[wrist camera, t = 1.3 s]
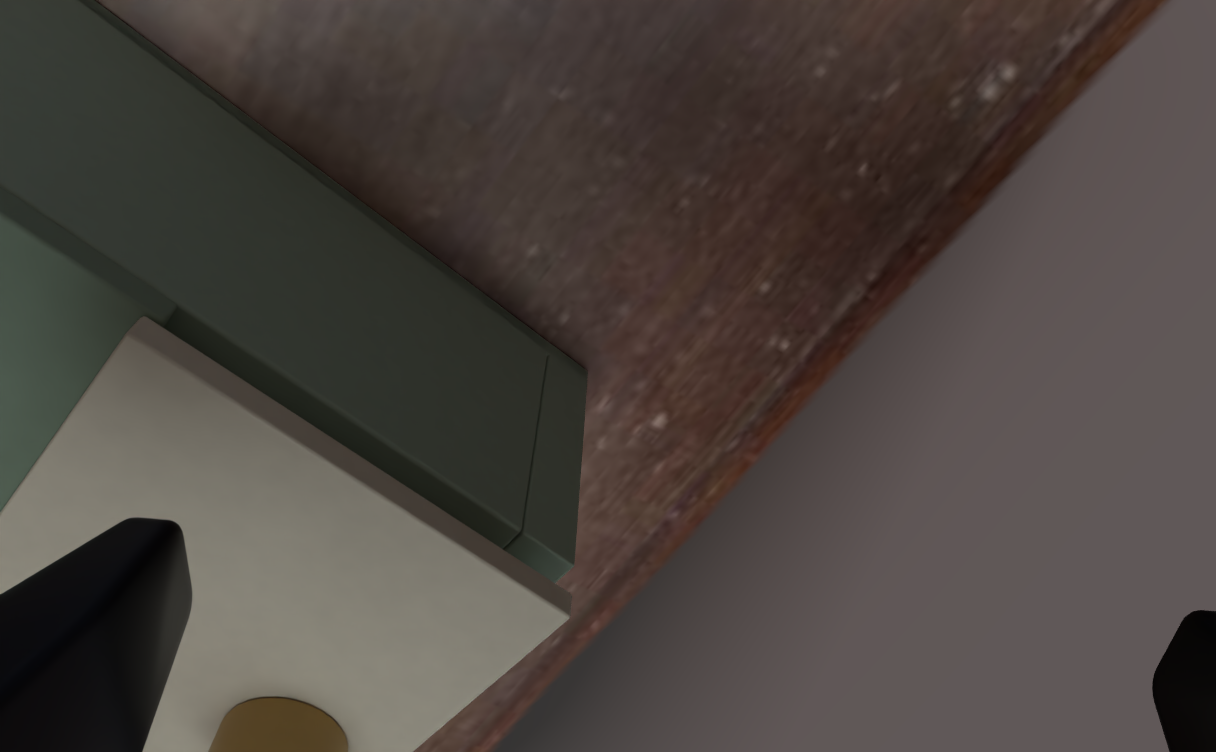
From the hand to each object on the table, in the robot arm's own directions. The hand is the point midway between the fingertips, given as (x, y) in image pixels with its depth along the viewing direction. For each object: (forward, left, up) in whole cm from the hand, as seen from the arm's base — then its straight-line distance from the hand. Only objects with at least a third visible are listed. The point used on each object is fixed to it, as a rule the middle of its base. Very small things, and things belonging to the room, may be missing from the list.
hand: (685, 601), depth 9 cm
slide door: (+1, +11, -6) cm, 13 cm away
